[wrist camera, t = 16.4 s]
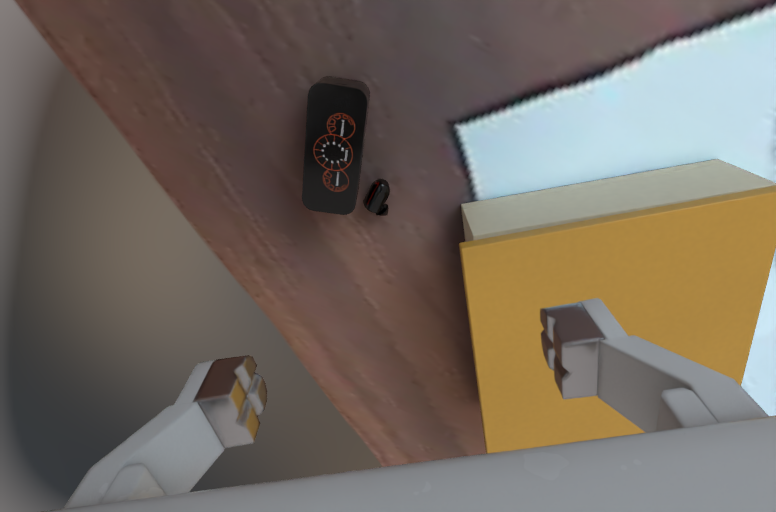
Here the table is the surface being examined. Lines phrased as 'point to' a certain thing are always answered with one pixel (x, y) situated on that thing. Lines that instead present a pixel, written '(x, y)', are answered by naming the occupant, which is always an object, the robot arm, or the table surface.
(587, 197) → the tan lidded tray
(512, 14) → the table surface
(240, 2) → the table surface
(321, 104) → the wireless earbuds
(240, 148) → the table surface
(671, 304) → the cover
